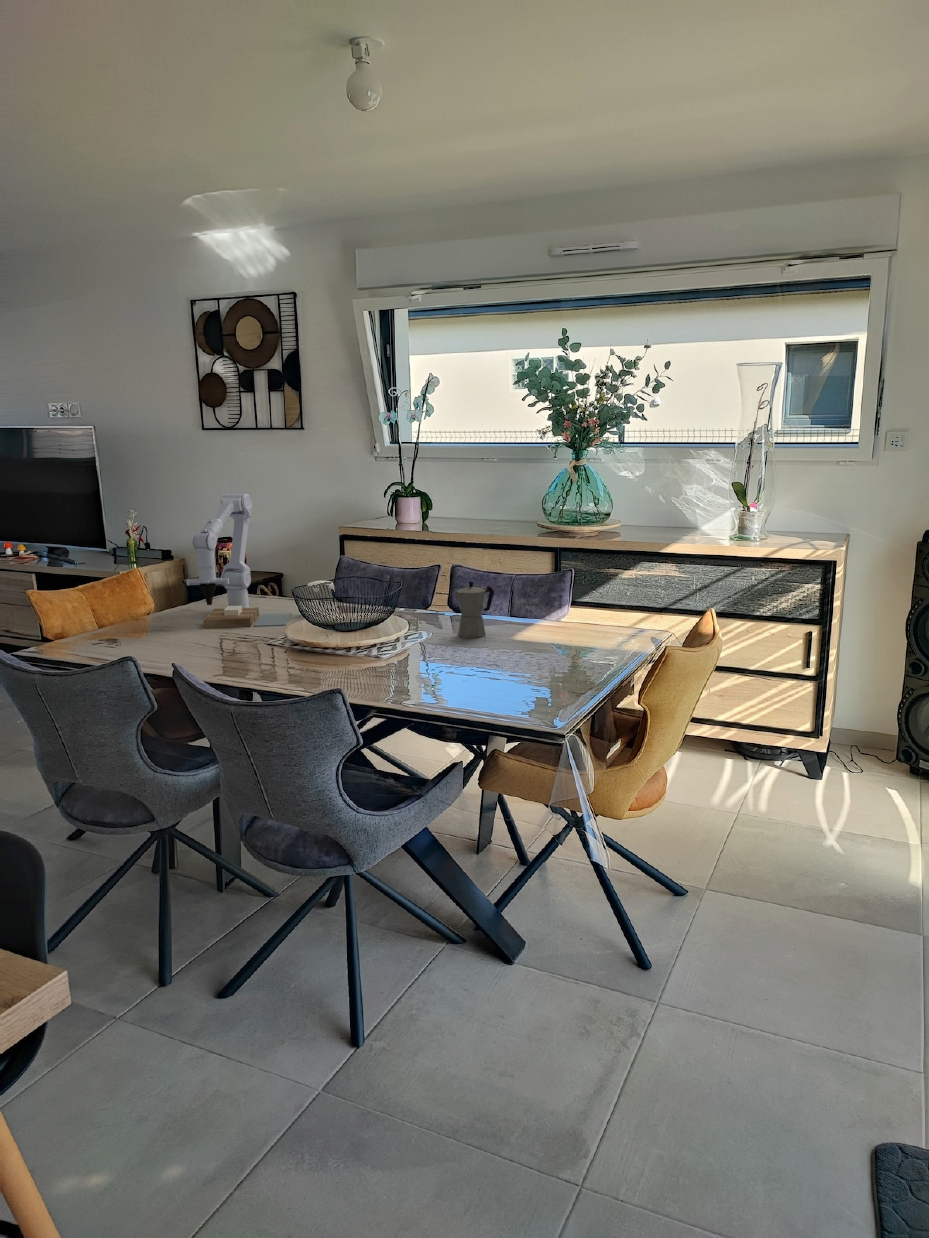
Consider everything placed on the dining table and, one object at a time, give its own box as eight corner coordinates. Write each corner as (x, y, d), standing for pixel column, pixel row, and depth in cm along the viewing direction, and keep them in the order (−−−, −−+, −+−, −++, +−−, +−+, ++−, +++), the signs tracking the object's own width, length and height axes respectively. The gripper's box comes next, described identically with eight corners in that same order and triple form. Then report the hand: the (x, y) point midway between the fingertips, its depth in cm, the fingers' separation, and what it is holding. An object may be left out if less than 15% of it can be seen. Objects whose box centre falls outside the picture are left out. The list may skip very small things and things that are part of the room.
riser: (215, 616, 323) (214, 608, 322) (259, 615, 324) (258, 607, 323) (204, 628, 305) (203, 619, 304) (250, 626, 306) (250, 618, 305)
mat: (261, 615, 324) (261, 614, 323) (291, 614, 324) (291, 613, 324) (253, 626, 306) (253, 625, 306) (285, 625, 307) (285, 624, 307)
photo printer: (334, 611, 329) (332, 578, 326) (336, 613, 325) (334, 580, 322) (306, 613, 325) (305, 580, 322) (308, 615, 321) (306, 582, 318)
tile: (228, 611, 317) (227, 606, 316) (242, 611, 317) (241, 605, 317) (224, 615, 310) (223, 610, 310) (238, 615, 310) (238, 609, 310)
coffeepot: (462, 640, 282) (461, 585, 278) (447, 634, 290) (446, 581, 286) (501, 633, 290) (501, 580, 286) (486, 628, 298) (485, 576, 294)
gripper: (182, 569, 305) (186, 607, 308) (225, 568, 306) (228, 606, 309) (187, 566, 312) (191, 603, 315) (229, 565, 313) (231, 602, 316)
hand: (209, 604), depth 312 cm, fingers closed
